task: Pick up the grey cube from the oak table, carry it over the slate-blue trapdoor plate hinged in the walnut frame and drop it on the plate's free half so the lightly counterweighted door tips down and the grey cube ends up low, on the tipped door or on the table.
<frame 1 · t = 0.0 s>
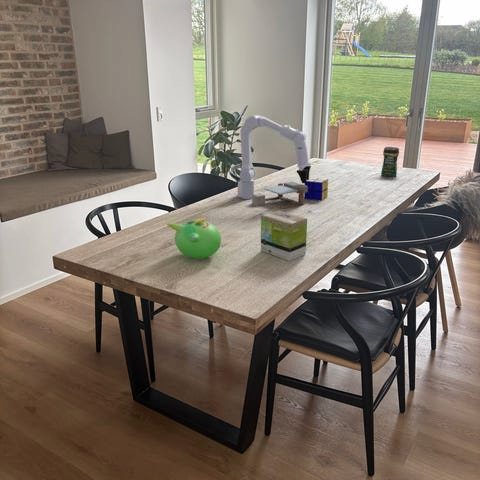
hand: (305, 181, 255), 11 cm above the table, tool pointing down, fingers open, 7 cm apart
frame: (290, 201, 259), on the table
trapdoor: (286, 189, 255), point 7 cm above the table, hinge at 0.0°
tea box: (283, 253, 187), on the table
coffee jar: (388, 176, 317), on the table
toy bird: (197, 257, 184), on the table
grey cube: (258, 204, 254), on the table
puzzle cube: (315, 198, 266), on the table
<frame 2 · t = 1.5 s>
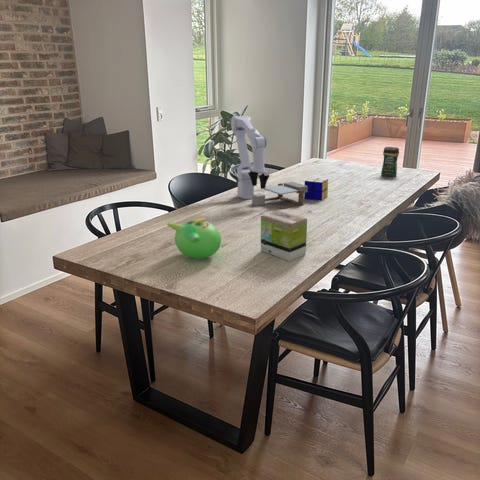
hand: (258, 187, 251), 9 cm above the table, tool pointing down, fingers open, 7 cm apart
nothing on the table moved.
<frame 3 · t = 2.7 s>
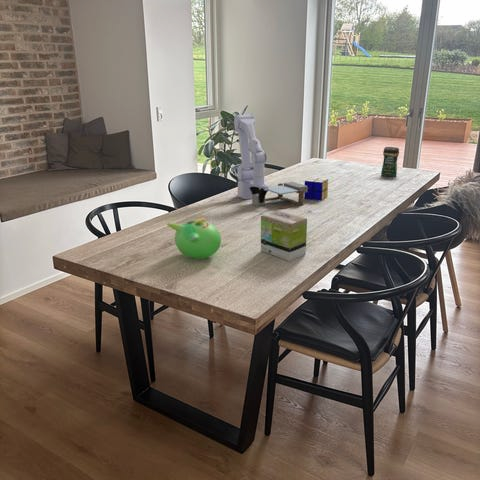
hand: (258, 201, 254), 1 cm above the table, tool pointing down, fingers closed on grey cube, 5 cm apart
grey cube: (258, 204, 254), on the table, touching gripper
everything else where it was.
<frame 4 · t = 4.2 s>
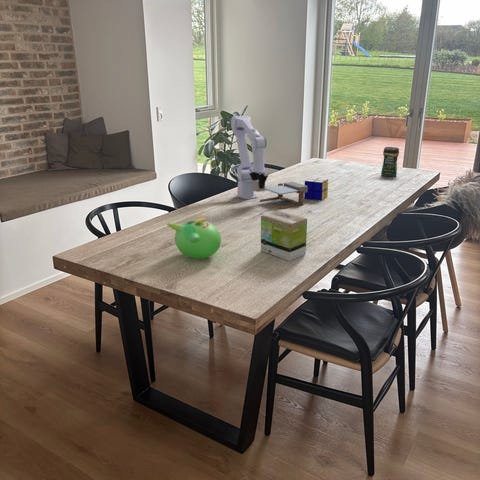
hand: (258, 187, 252), 9 cm above the table, tool pointing down, fingers closed on grey cube, 5 cm apart
grey cube: (258, 190, 252), point 7 cm above the table, touching gripper
everything else where it was.
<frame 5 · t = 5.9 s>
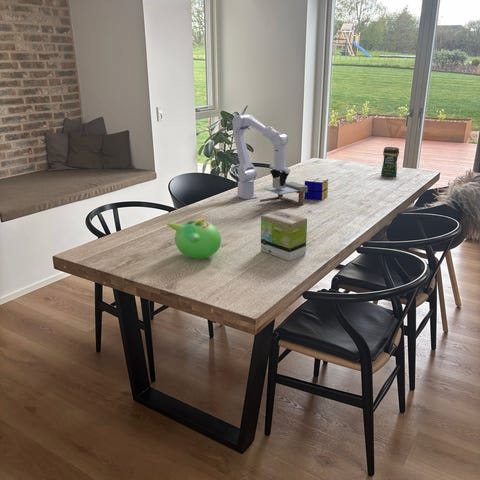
hand: (279, 184, 252), 10 cm above the table, tool pointing down, fingers closed on grey cube, 5 cm apart
grey cube: (279, 187, 252), point 8 cm above the table, touching gripper
everything else where it was.
when the fingers open (10 cm above the table, at t = 6.1 s): grey cube drops 4 cm, resting on trapdoor.
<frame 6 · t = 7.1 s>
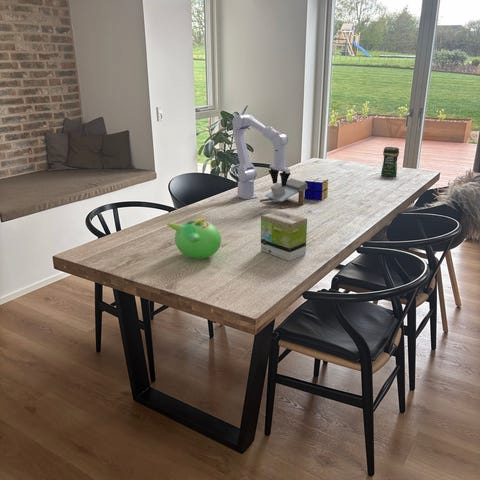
hand: (279, 184, 252), 10 cm above the table, tool pointing down, fingers open, 7 cm apart
trapdoor: (286, 190, 256), point 6 cm above the table, hinge at -19.0°, touching grey cube
grey cube: (279, 194, 254), point 5 cm above the table, tilted 19°, touching trapdoor
everything else where it was.
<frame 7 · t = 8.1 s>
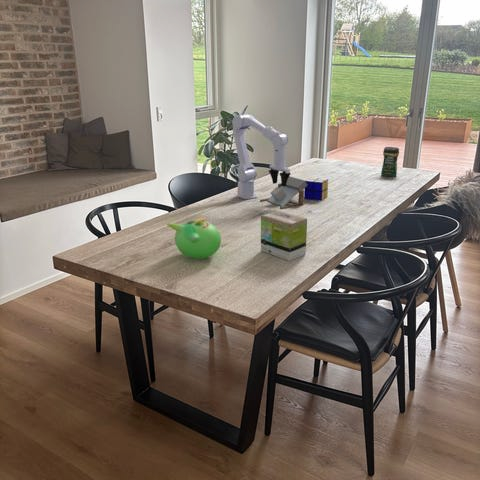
hand: (279, 184, 252), 10 cm above the table, tool pointing down, fingers open, 7 cm apart
trapdoor: (286, 192, 256), point 5 cm above the table, hinge at -34.3°, touching grey cube
grey cube: (280, 197, 255), point 3 cm above the table, tilted 34°, touching trapdoor
everything else where it was.
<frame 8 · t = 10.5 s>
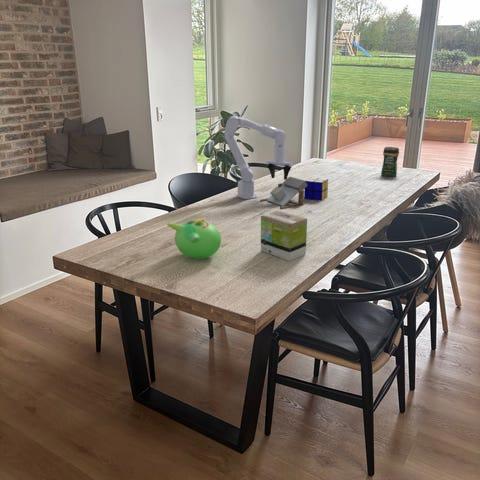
hand: (279, 178, 264), 10 cm above the table, tool pointing down, fingers open, 7 cm apart
trapdoor: (286, 191, 256), point 5 cm above the table, hinge at -32.8°, touching gripper, grey cube
everything else where it was.
at the end: grey cube inside the target area (6.3 cm from its centre), point 3.0 cm above the table; grey cube moved 11.8 cm from its start; the gripper is holding nothing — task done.
